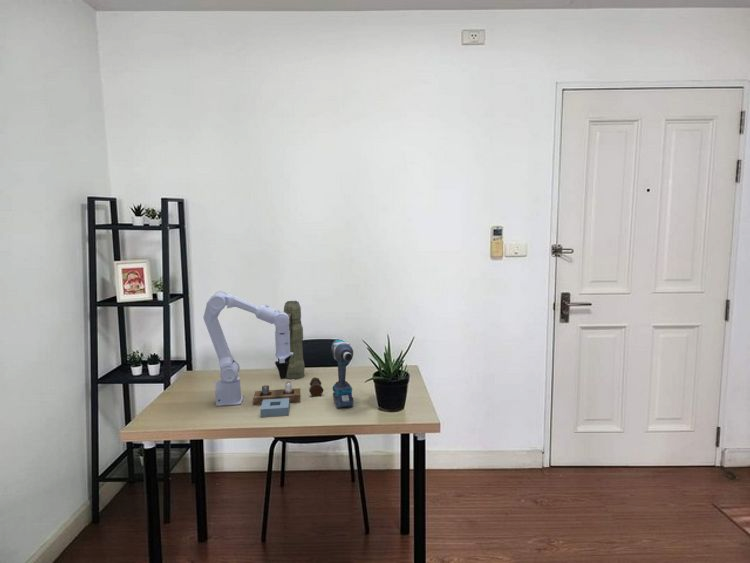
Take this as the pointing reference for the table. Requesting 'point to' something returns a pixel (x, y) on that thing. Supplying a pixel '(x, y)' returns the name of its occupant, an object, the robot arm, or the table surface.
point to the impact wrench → (342, 374)
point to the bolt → (315, 387)
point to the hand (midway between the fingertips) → (283, 375)
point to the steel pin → (288, 387)
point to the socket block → (275, 407)
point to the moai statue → (295, 340)
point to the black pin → (265, 390)
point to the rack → (277, 396)
